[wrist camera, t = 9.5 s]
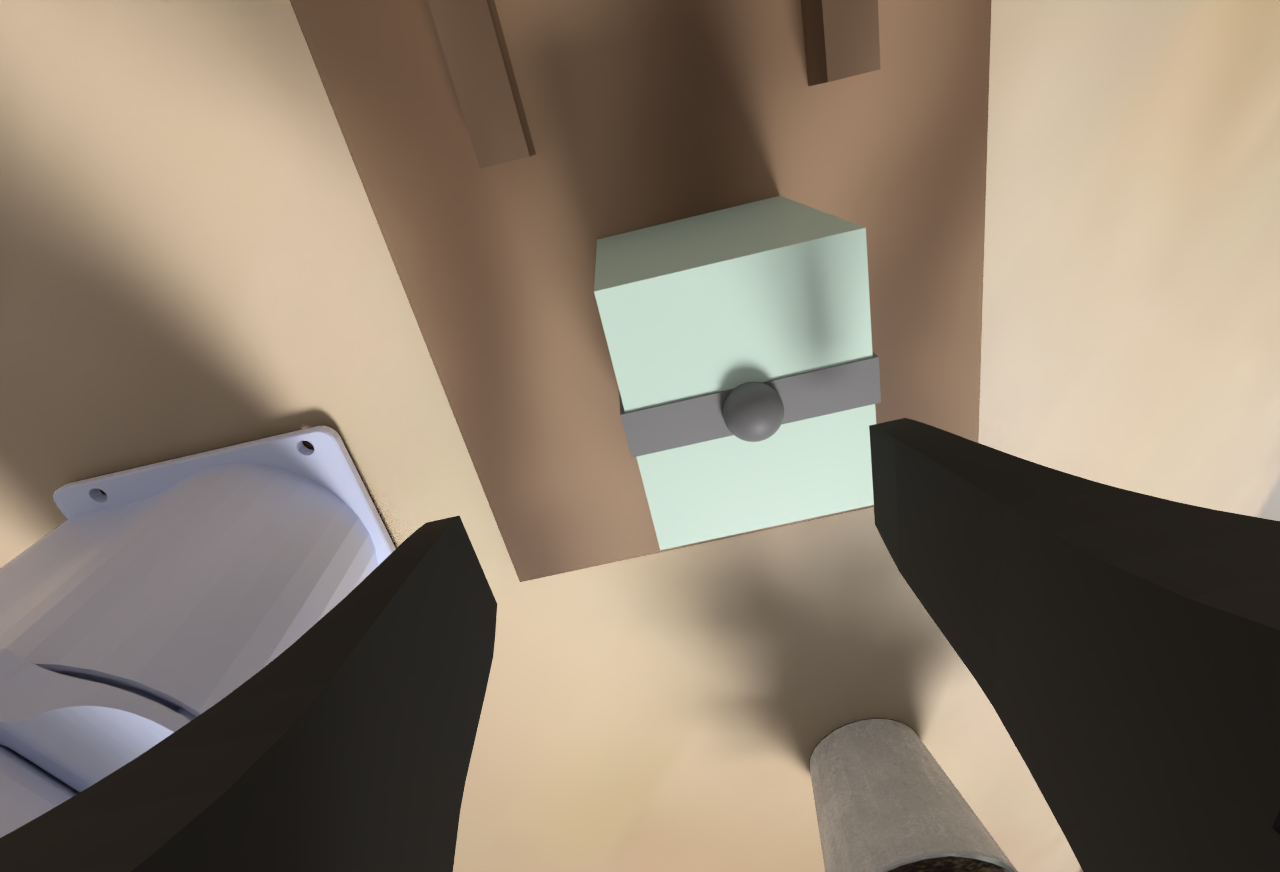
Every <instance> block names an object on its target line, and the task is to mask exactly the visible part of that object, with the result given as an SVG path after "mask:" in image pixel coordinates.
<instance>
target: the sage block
mask: <svg viewBox="0 0 1280 872" xmlns="http://www.w3.org/2000/svg"><path fill="white" fill-rule="evenodd" d="M594 294H595V298H596V302H597V305H598V309H599V313H600V317H601V321H602V325H603V329H604V333H605V337H606V341H607V344H608V348H609V352H610V356H611V360H612V364H613V368H614V372H615V376H616V380H617V383H618V387H619V402H620V416H621V420H622V424H623V427H624V431H625V435H626V439H627V443H628V447H629V450H630V454H631V458H633V457H636V458H637V461H638V465H639V469H640V473H641V477H642V481H643V485H644V489H645V493H646V497H647V500H648V504H649V508H650V512H651V516H652V520H653V524H654V528H655V532H656V536H657V539H658V543H659V547H660V550H664V549H669V548H674V547H678V546H683V545H688V544H693V543H697V542H702V541H707V540H711V539H716V538H721V537H725V536H730V535H735V534H740V533H744V532H749V531H754V530H758V529H763V528H768V527H772V526H777V525H782V524H787V523H791V522H796V521H801V520H805V519H810V518H815V517H819V516H824V515H829V514H834V513H838V512H843V511H848V510H852V509H857V508H862V507H866V506H871V505H874V498H873V481H872V464H871V447H870V431H869V426H870V425H874V424H876V409H875V404H877V403H881V391H880V371H879V357H878V356H877V355H876V354H875V353H873V352H872V334H871V315H870V297H869V278H868V260H867V241H866V227H863V226H860V225H858V224H855V223H852V222H849V221H847V220H844V219H841V218H839V217H836V216H833V215H831V214H828V213H825V212H823V211H820V210H817V209H815V208H812V207H809V206H806V205H804V204H801V203H798V202H796V201H793V200H790V199H788V198H785V197H782V196H777V197H772V198H768V199H764V200H760V201H756V202H752V203H747V204H743V205H739V206H735V207H731V208H727V209H722V210H718V211H714V212H710V213H706V214H702V215H697V216H693V217H689V218H685V219H681V220H677V221H672V222H668V223H664V224H660V225H656V226H652V227H647V228H643V229H639V230H635V231H631V232H627V233H622V234H618V235H614V236H610V237H606V238H602V239H597V250H596V266H595V283H594Z"/></svg>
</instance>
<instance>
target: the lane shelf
mask: <svg viewBox="0 0 1280 872" xmlns="http://www.w3.org/2000/svg"><path fill="white" fill-rule="evenodd" d="M290 2H291V5H292V7H293V10H294V12H295V15H296V17H297V20H298V22H299V25H300V27H301V30H302V32H303V35H304V37H305V40H306V42H307V45H308V47H309V50H310V53H311V55H312V58H313V60H314V63H315V65H316V68H317V70H318V73H319V75H320V78H321V80H322V83H323V85H324V88H325V90H326V93H327V95H328V98H329V101H330V103H331V106H332V108H333V111H334V113H335V116H336V118H337V121H338V123H339V126H340V128H341V131H342V133H343V136H344V138H345V141H346V143H347V146H348V149H349V151H350V154H351V156H352V159H353V161H354V164H355V166H356V169H357V171H358V174H359V176H360V179H361V181H362V184H363V186H364V189H365V191H366V194H367V197H368V199H369V202H370V204H371V207H372V209H373V212H374V214H375V217H376V219H377V222H378V224H379V227H380V229H381V232H382V234H383V237H384V239H385V242H386V245H387V247H388V250H389V252H390V255H391V257H392V260H393V262H394V265H395V267H396V270H397V272H398V275H399V277H400V280H401V282H402V285H403V288H404V290H405V293H406V295H407V298H408V300H409V303H410V305H411V308H412V310H413V313H414V315H415V318H416V320H417V323H418V325H419V328H420V330H421V333H422V336H423V338H424V341H425V343H426V346H427V348H428V351H429V353H430V356H431V358H432V361H433V363H434V366H435V368H436V371H437V373H438V376H439V378H440V381H441V384H442V386H443V389H444V391H445V394H446V396H447V399H448V401H449V404H450V406H451V409H452V411H453V414H454V416H455V419H456V421H457V424H458V426H459V429H460V432H461V434H462V437H463V439H464V442H465V444H466V447H467V449H468V452H469V454H470V457H471V459H472V462H473V464H474V467H475V469H476V472H477V474H478V477H479V480H480V482H481V485H482V487H483V490H484V492H485V495H486V497H487V500H488V502H489V505H490V507H491V510H492V512H493V515H494V517H495V520H496V522H497V525H498V528H499V530H500V533H501V535H502V538H503V540H504V543H505V545H506V548H507V550H508V553H509V555H510V558H511V560H512V563H513V565H514V568H515V570H516V573H517V576H518V578H519V581H520V582H522V581H527V580H532V579H536V578H541V577H546V576H551V575H555V574H560V573H565V572H569V571H574V570H579V569H583V568H588V567H593V566H598V565H602V564H607V563H612V562H616V561H621V560H626V559H630V558H635V557H640V556H645V555H649V554H654V553H659V552H663V551H668V550H673V549H677V548H682V547H687V546H691V545H696V544H701V543H706V542H710V541H715V540H720V539H724V538H729V537H734V536H738V535H743V534H748V533H753V532H757V531H762V530H767V529H771V528H776V527H781V526H785V525H790V524H795V523H799V522H804V521H809V520H814V519H818V518H823V517H828V516H832V515H837V514H842V513H846V512H851V511H856V510H861V509H865V508H870V507H874V505H871V506H866V507H862V508H857V509H852V510H848V511H843V512H838V513H834V514H829V515H824V516H819V517H815V518H810V519H805V520H801V521H796V522H791V523H787V524H782V525H777V526H772V527H768V528H763V529H758V530H754V531H749V532H744V533H740V534H735V535H730V536H725V537H721V538H716V539H711V540H707V541H702V542H697V543H693V544H688V545H683V546H678V547H674V548H669V549H664V550H660V547H659V543H658V539H657V536H656V532H655V528H654V524H653V520H652V516H651V512H650V508H649V504H648V500H647V497H646V493H645V489H644V485H643V481H642V477H641V473H640V469H639V465H638V461H637V458H636V457H633V458H631V454H630V450H629V447H628V443H627V439H626V435H625V431H624V427H623V424H622V420H621V416H620V402H619V387H618V383H617V380H616V376H615V372H614V368H613V364H612V360H611V356H610V352H609V348H608V344H607V341H606V337H605V333H604V329H603V325H602V321H601V317H600V313H599V309H598V305H597V302H596V298H595V294H594V283H595V266H596V250H597V239H602V238H606V237H610V236H614V235H618V234H622V233H627V232H631V231H635V230H639V229H643V228H647V227H652V226H656V225H660V224H664V223H668V222H672V221H677V220H681V219H685V218H689V217H693V216H697V215H702V214H706V213H710V212H714V211H718V210H722V209H727V208H731V207H735V206H739V205H743V204H747V203H752V202H756V201H760V200H764V199H768V198H772V197H777V196H782V197H785V198H788V199H790V200H793V201H796V202H798V203H801V204H804V205H806V206H809V207H812V208H815V209H817V210H820V211H823V212H825V213H828V214H831V215H833V216H836V217H839V218H841V219H844V220H847V221H849V222H852V223H855V224H858V225H860V226H863V227H866V241H867V260H868V278H869V297H870V315H871V334H872V352H873V353H875V354H876V355H877V356H878V357H879V371H880V391H881V403H877V404H875V409H876V424H879V423H884V422H888V421H893V420H897V419H902V418H908V419H912V420H916V421H919V422H922V423H925V424H928V425H931V426H934V427H936V428H939V429H942V430H945V431H947V432H950V433H953V434H955V435H958V436H961V437H963V438H966V439H969V440H971V441H974V442H977V443H978V432H979V398H980V364H981V331H982V297H983V263H984V229H985V195H986V162H987V128H988V94H989V60H990V27H991V0H290Z"/></svg>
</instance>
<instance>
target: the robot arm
mask: <svg viewBox="0 0 1280 872" xmlns="http://www.w3.org/2000/svg"><path fill="white" fill-rule="evenodd" d="M869 431H870V447H871V464H872V481H873V498H874V514H875V525H876V527H877V529H878V531H879V533H880V535H881V537H882V539H883V541H884V543H885V545H886V547H887V549H888V551H889V553H890V555H891V557H892V558H893V560H894V562H895V564H896V566H897V568H898V570H899V571H900V573H901V574H902V576H903V577H904V579H905V580H906V582H907V583H908V585H909V586H910V588H911V589H912V590H913V592H914V593H915V595H916V596H917V598H918V599H919V600H920V602H921V603H922V605H923V606H924V608H925V609H926V610H927V612H928V613H929V615H930V616H931V617H932V619H933V620H934V622H935V623H936V624H937V626H938V627H939V629H940V630H941V632H942V633H943V634H944V636H945V637H946V639H947V640H948V641H949V643H950V644H951V646H952V647H953V648H954V650H955V651H956V653H957V654H958V655H959V657H960V658H961V660H962V661H963V662H964V664H965V665H966V667H967V668H968V669H969V671H970V672H971V674H972V675H973V676H974V678H975V679H976V681H977V682H978V684H979V685H980V687H981V688H982V690H983V692H984V693H985V695H986V696H987V698H988V699H989V701H990V702H991V704H992V705H993V707H994V709H995V710H996V712H997V714H998V716H999V717H1000V719H1001V721H1002V723H1003V724H1004V726H1005V728H1006V730H1007V731H1008V733H1009V735H1010V737H1011V739H1012V740H1013V742H1014V744H1015V746H1016V747H1017V749H1018V751H1019V753H1020V754H1021V756H1022V758H1023V760H1024V761H1025V763H1026V765H1027V767H1028V768H1029V770H1030V772H1031V774H1032V776H1033V778H1034V779H1035V781H1036V783H1037V785H1038V787H1039V789H1040V791H1041V792H1042V794H1043V796H1044V798H1045V800H1046V802H1047V803H1048V805H1049V807H1050V809H1051V811H1052V813H1053V815H1054V816H1055V818H1056V820H1057V822H1058V824H1059V826H1060V827H1061V829H1062V831H1063V833H1064V835H1065V837H1066V839H1067V841H1068V842H1069V844H1070V846H1071V848H1072V850H1073V852H1074V854H1075V856H1076V858H1077V860H1078V862H1079V864H1080V866H1081V868H1082V870H1083V872H1280V521H1274V520H1268V519H1262V518H1257V517H1251V516H1246V515H1240V514H1234V513H1229V512H1223V511H1217V510H1212V509H1207V508H1202V507H1197V506H1192V505H1188V504H1183V503H1178V502H1174V501H1169V500H1165V499H1161V498H1157V497H1153V496H1149V495H1144V494H1140V493H1136V492H1132V491H1128V490H1124V489H1119V488H1116V487H1112V486H1108V485H1105V484H1101V483H1097V482H1094V481H1090V480H1087V479H1084V478H1081V477H1077V476H1074V475H1071V474H1067V473H1064V472H1061V471H1058V470H1054V469H1051V468H1048V467H1045V466H1042V465H1039V464H1036V463H1033V462H1030V461H1027V460H1024V459H1021V458H1018V457H1015V456H1013V455H1010V454H1007V453H1004V452H1001V451H999V450H996V449H993V448H990V447H988V446H985V445H982V444H979V443H977V442H974V441H971V440H969V439H966V438H963V437H961V436H958V435H955V434H953V433H950V432H947V431H945V430H942V429H939V428H936V427H934V426H931V425H928V424H925V423H922V422H919V421H916V420H912V419H908V418H902V419H897V420H893V421H888V422H884V423H879V424H874V425H870V426H869ZM302 441H308V442H310V443H311V444H312V445H313V446H314V450H310V449H308V448H306V447H305V446H304V445H303V443H302ZM99 489H100V490H103V491H104V492H105V493H106V495H104V494H102V493H101V492H100V491H99ZM53 500H54V502H55V504H56V506H57V507H58V508H59V509H60V511H61V512H62V513H63V515H64V516H65V517H66V518H67V521H65V522H64V523H62V524H61V525H60V526H58V527H57V528H56V529H54V530H53V531H51V532H50V533H49V534H47V535H46V536H44V537H43V538H42V539H40V540H39V541H38V542H36V543H35V544H33V545H32V546H31V547H29V548H28V549H27V550H25V551H24V552H22V553H21V554H20V555H18V556H17V557H16V558H14V559H13V560H11V561H10V562H9V563H7V564H6V565H5V566H3V567H2V568H0V872H453V864H454V856H455V847H456V839H457V831H458V823H459V814H460V808H461V802H462V797H463V791H464V786H465V781H466V776H467V772H468V767H469V763H470V758H471V754H472V750H473V745H474V741H475V736H476V732H477V727H478V723H479V719H480V714H481V710H482V705H483V701H484V696H485V692H486V687H487V682H488V678H489V673H490V669H491V664H492V659H493V651H494V640H495V628H496V612H497V603H496V600H495V598H494V596H493V593H492V591H491V589H490V586H489V584H488V582H487V579H486V577H485V575H484V572H483V570H482V568H481V565H480V563H479V561H478V558H477V556H476V554H475V551H474V549H473V547H472V544H471V542H470V539H469V537H468V535H467V532H466V530H465V528H464V525H463V523H462V521H461V518H460V516H456V517H451V518H447V519H442V520H437V521H433V522H428V523H425V524H424V525H423V526H422V527H420V528H419V529H418V530H416V531H415V532H414V533H413V534H412V535H411V536H409V537H408V538H407V539H406V540H405V541H404V542H403V543H402V544H401V545H400V546H399V547H397V548H395V546H394V544H393V542H392V540H391V538H390V536H389V534H388V532H387V530H386V528H385V526H384V524H383V522H382V520H381V518H380V516H379V514H378V512H377V510H376V508H375V506H374V504H373V502H372V500H371V498H370V496H369V494H368V492H367V490H366V488H365V486H364V484H363V482H362V480H361V478H360V476H359V474H358V472H357V470H356V468H355V466H354V464H353V462H352V460H351V458H350V456H349V454H348V452H347V449H346V447H345V445H344V443H343V441H342V439H341V437H340V436H339V434H338V433H337V432H336V431H335V430H334V429H332V428H331V427H327V426H315V427H311V428H307V429H302V430H298V431H294V432H289V433H285V434H281V435H276V436H272V437H268V438H263V439H259V440H255V441H250V442H246V443H242V444H237V445H233V446H228V447H224V448H220V449H215V450H211V451H207V452H202V453H198V454H194V455H189V456H185V457H181V458H176V459H172V460H168V461H163V462H159V463H155V464H150V465H146V466H142V467H137V468H133V469H129V470H124V471H120V472H115V473H111V474H107V475H102V476H98V477H94V478H89V479H85V480H81V481H76V482H72V483H68V484H66V485H64V486H62V487H60V488H59V489H57V490H56V491H55V492H54V494H53Z"/></svg>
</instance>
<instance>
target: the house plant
mask: <svg viewBox="0 0 1280 872" xmlns="http://www.w3.org/2000/svg"><path fill="white" fill-rule="evenodd" d="M810 773H811V779H812V786H813V793H814V799H815V806H816V813H817V819H818V826H819V833H820V839H821V846H822V852H823V859H824V866H825V872H1018V871H1017V870H1016V869H1015V867H1014V866H1013V865H1012V863H1011V862H1010V860H1009V859H1008V858H1007V856H1006V855H1005V854H1004V852H1003V851H1002V850H1001V848H1000V847H999V846H998V844H997V843H996V841H995V840H994V839H993V837H992V836H991V835H990V833H989V832H988V831H987V829H986V828H985V827H984V825H983V824H982V822H981V821H980V820H979V818H978V817H977V816H976V814H975V813H974V812H973V810H972V809H971V808H970V806H969V805H968V803H967V802H966V801H965V799H964V798H963V797H962V795H961V794H960V793H959V791H958V790H957V789H956V787H955V786H954V784H953V783H952V782H951V780H950V779H949V778H948V776H947V775H946V774H945V772H944V771H943V770H942V768H941V767H940V765H939V764H938V763H937V761H936V760H935V759H934V757H933V756H932V755H931V753H930V752H929V751H928V749H927V748H926V746H925V745H924V744H923V742H922V741H921V740H920V738H919V737H918V736H917V734H916V733H915V732H914V731H913V729H911V728H910V727H908V726H906V725H905V724H903V723H900V722H897V721H893V720H888V719H869V720H861V721H857V722H854V723H851V724H847V725H845V726H843V727H841V728H839V729H837V730H835V731H833V732H832V733H830V734H829V735H828V736H826V737H825V738H824V739H822V741H821V742H820V743H819V744H818V745H817V747H816V748H815V749H814V751H813V754H812V756H811V758H810Z"/></svg>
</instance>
